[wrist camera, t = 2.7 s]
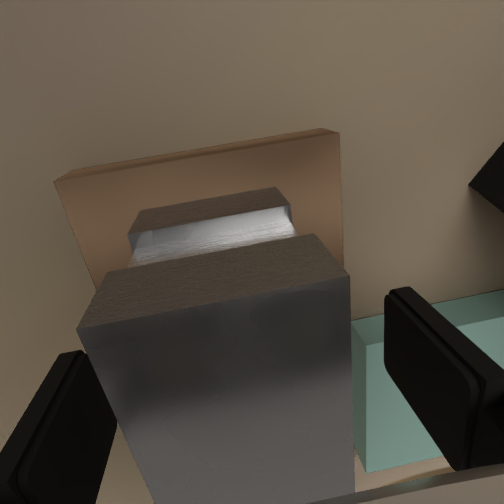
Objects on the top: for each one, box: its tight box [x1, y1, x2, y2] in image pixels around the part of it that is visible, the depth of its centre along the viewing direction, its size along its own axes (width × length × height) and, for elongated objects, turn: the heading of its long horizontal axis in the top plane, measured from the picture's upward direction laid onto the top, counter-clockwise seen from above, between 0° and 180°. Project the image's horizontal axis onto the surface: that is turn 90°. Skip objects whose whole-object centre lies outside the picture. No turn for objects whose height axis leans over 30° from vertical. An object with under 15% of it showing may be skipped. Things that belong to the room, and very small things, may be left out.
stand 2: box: [351, 290, 504, 474], centre depth 20 cm, size 10×10×2 cm
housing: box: [76, 186, 355, 504], centre depth 11 cm, size 7×5×7 cm
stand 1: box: [53, 128, 344, 290], centre depth 15 cm, size 10×10×2 cm
